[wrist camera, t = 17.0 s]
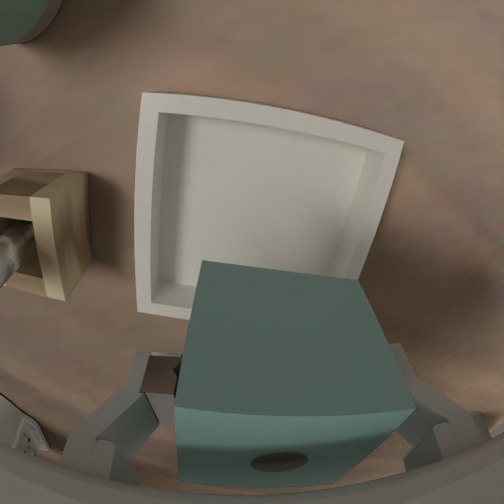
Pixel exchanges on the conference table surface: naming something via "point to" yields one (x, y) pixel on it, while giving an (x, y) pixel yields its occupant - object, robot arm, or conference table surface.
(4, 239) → the cylinder
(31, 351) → the conference table surface
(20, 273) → the beech block
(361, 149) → the tray
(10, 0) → the coffee cup
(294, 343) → the teal cube
